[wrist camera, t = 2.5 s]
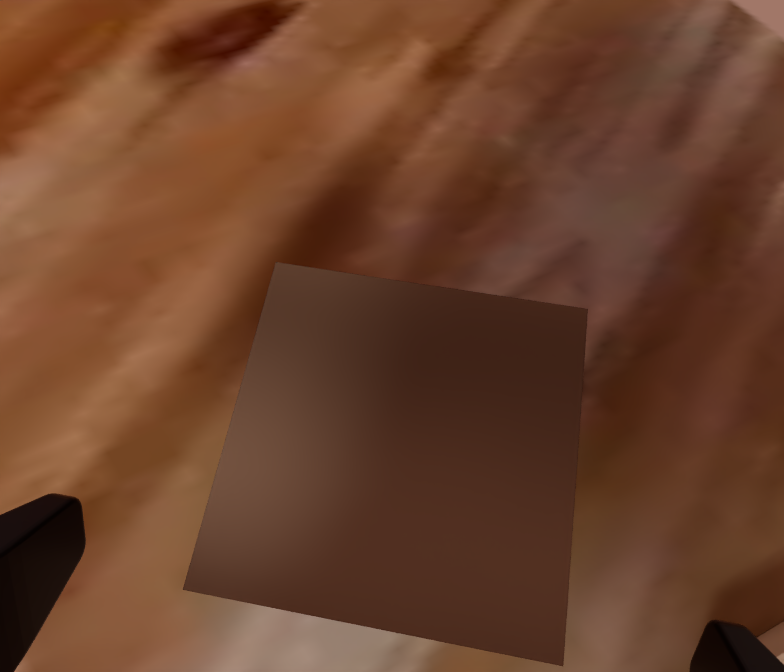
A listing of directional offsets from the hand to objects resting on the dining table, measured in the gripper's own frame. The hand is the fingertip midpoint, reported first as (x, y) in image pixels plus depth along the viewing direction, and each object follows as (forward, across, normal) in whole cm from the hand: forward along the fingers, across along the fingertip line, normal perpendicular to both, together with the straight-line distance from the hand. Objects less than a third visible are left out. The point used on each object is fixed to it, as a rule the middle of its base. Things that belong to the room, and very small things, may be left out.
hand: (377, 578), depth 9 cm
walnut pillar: (+8, 0, +5) cm, 10 cm away
